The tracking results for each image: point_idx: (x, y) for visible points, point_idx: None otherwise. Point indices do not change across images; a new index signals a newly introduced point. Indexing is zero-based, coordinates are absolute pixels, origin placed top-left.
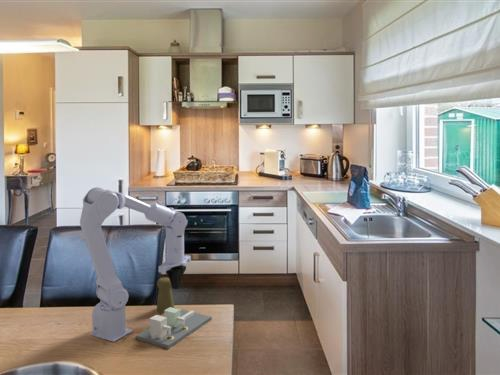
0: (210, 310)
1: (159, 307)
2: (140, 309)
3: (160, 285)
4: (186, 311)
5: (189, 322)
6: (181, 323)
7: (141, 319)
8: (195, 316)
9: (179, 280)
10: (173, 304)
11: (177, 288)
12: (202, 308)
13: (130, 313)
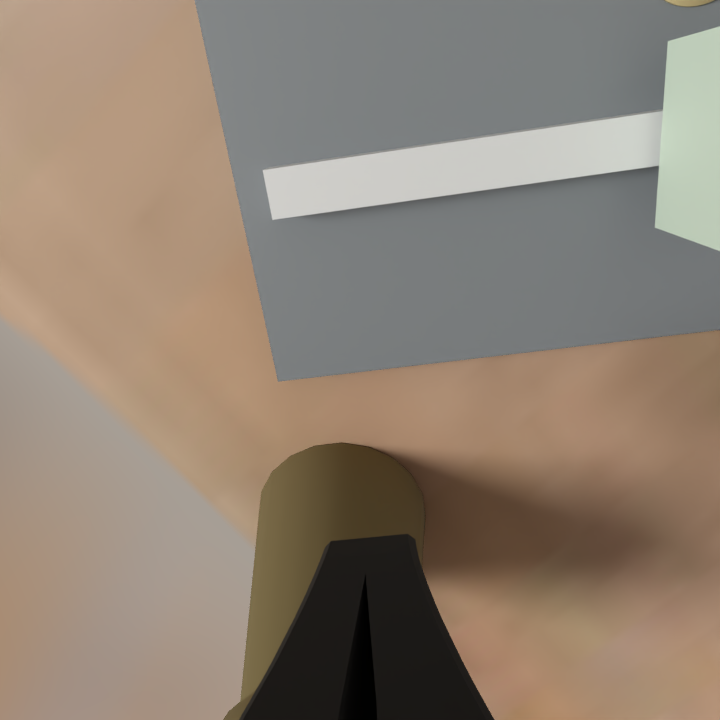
0: (15, 144)
1: (421, 547)
2: (465, 651)
3: None
4: (281, 300)
5: (499, 31)
6: (577, 99)
7: (619, 527)
8: (313, 106)
9: (344, 690)
10: (286, 495)
11: (398, 539)
12: (56, 262)
13: (567, 654)
